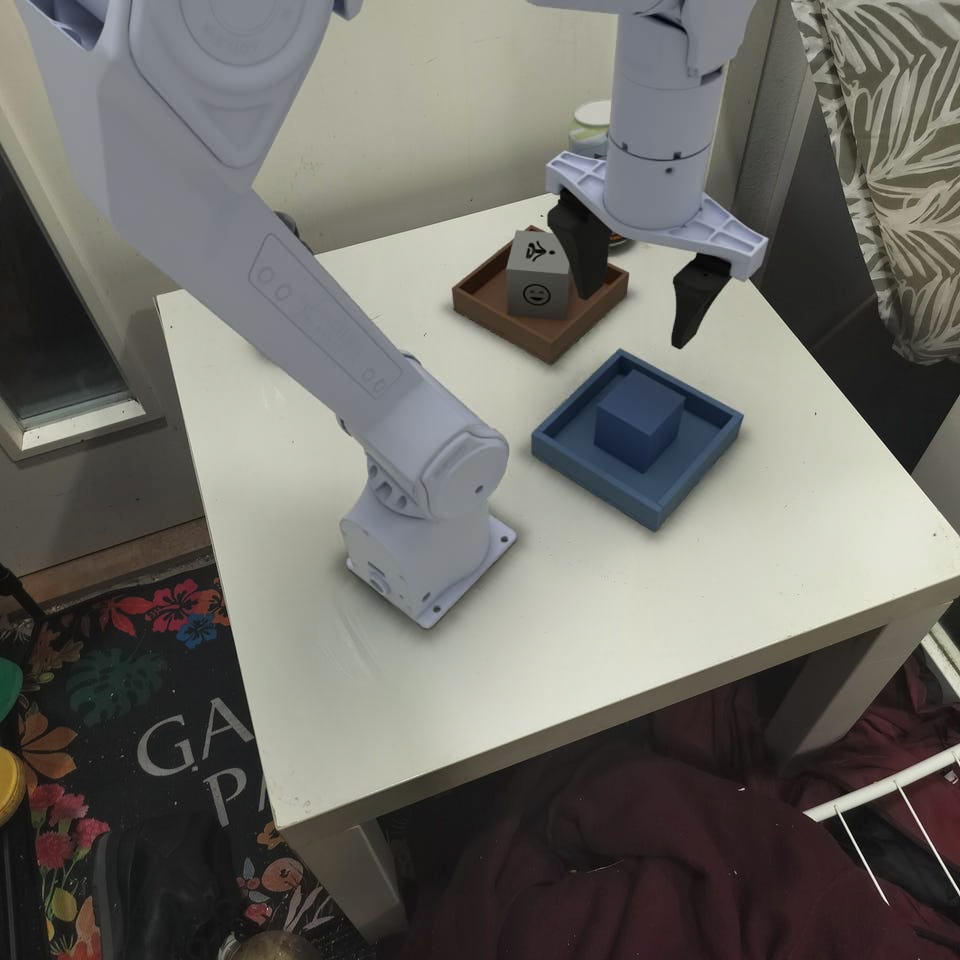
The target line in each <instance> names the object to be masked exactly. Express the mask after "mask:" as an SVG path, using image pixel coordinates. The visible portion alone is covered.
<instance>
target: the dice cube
mask: <svg viewBox="0 0 960 960" xmlns="http://www.w3.org/2000/svg"><path fill="white" fill-rule="evenodd" d="M513 239H514V241H513V244H512V248H511V252H510V256H509V260H508V264H507V268H506V278H507V309H508V315H514V316H525V317H536V318H546V319H557V320H566V315H567V310H568V305H569V299H570V294H571V289H572V283H573V273H572V270H571V267H570V264H569V261H568V259H567V256H566V254H565V252H564V250H563V248H562V246H561V244H560V242H559V241H558V239H557V237H556V236H555V234H554V233H553V232H547V231H545V232H534V231H524V230H520V229H519V230H518V229H516V230H515V233H514V237H513Z"/></svg>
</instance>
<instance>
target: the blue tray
mask: <svg viewBox="0 0 960 960" xmlns="http://www.w3.org/2000/svg"><path fill="white" fill-rule="evenodd" d="M633 369H634V370H636V371H638V372H640V373H641V374H643V375H645V376H647V377H649V378H651V379H652V380H654V381H656V382H658V383H660V384H662V385H663V386H665V387H667V388H669V389H671V390H673V391H675V392H676V393H678V394H680V395H682V396H684V397H685V398H686V399H685V403H684V408H683V412H682V417H681V421H680V426H679V430H678V435H677V438H676V439H675V440H674V441H673V442H672V443H671V444H670V445H669V446H668V447H667V449H666V450H665V451H664V452H663V453H662V454H661V455H660V456H659V457H658V458H657V459H656V461H655V462H654V463H653V464H652V465H651V466H650V467H649V468H648V469H647V470H646V472H645V473H644V474H642V473H640V472H639V471H637V470H635V469H634V468H632V467H630V466H629V465H627V464H626V463H624V462H622V461H621V460H619V459H617V458H616V457H614V456H612V455H611V454H609V453H607V452H606V451H604V450H602V449H601V448H599V447H597V446H596V445H594V436H595V425H596V415H597V405H598V404H599V403H600V402H601V401H602V400H603V399H604V398H605V397H606V396H607V395H608V394H609V393H610V392H611V391H612V390H613V389H614V388H615V387H616V386H617V385H618V384H619V383H620V382H621V381H622V380H623V379H624V378H625V377H626V376H627V375H628V374H629V373H630V372H631V371H632V370H633ZM744 417H745V414H744V413H742V412H741V411H738V410H736V409H735V408H732V406H731V407H730V406H729V405H727V404H724V403H723V402H721V401H719V400H718V399H715V398H714V397H713V396H710V395H708V394H706V393H704V392H703V391H701V390H699V389H698V388H696V387H694V386H691V385H689V384H688V383H686V382H684V381H682V380H680V379H678V378H677V377H674V376H673V375H671V374H670V373H668V372H666V371H663V370H661V368H659V367H656V366H654V365H653V364H650V363H649V362H647V361H645V360H643V359H641V358H639V357H637V356H635V355H634V354H632V353H630V352H628V351H626V349H625V350H624V349H623V348H621V347H619V348H618V349H617V350H616V351H615V352H614V353H613V354H611V356H610V357H609V358H608V359H606V360H605V361H604V363H602V364H601V366H599V367H598V368H597V369H596V370H595V371H594V372H593V373H591V375H590V376H589V377H588V378H587V379H586V380H585V381H584V382H583V383H582V384H580V385H579V386H578V388H576V389H575V391H573V392H572V393H571V395H569V396H568V397H567V398H566V399H565V400H564V401H563V402H562V403H561V404H560V405H559V406H558V407H557V408H556V409H554V410H553V412H552V413H551V414H549V415H548V416H547V417H546V418H545V420H543V421H542V422H541V423H540V424H539V425H538V426H537V427H536V428H535V429H534V430H533V431H532V432H531V434H530V451H531V452H530V454H531V455H532V456H534V457H535V458H537V459H538V460H540V461H541V462H543V463H544V464H546V465H548V466H550V467H551V468H552V469H554V470H555V471H558V472H559V473H561V474H562V475H563V476H565V477H567V478H569V479H570V480H571V481H573V482H575V483H576V484H578V485H579V486H581V487H582V488H584V489H586V490H587V491H589V492H591V493H593V494H594V495H595V496H597V497H598V498H600V499H602V500H603V501H605V502H606V503H608V504H609V505H611V506H613V507H614V508H616V509H617V510H619V511H620V512H622V513H623V514H625V515H626V516H629V517H630V518H632V519H633V520H635V521H636V522H638V523H639V524H641V525H643V526H644V527H646V528H647V529H649V530H650V531H652V532H654V533H655V532H656V531H657V530H658V529H659V528H660V527H661V526H662V525H663V523H664V522H665V521H666V520H667V519H668V518H669V517H670V515H671V514H672V513H673V512H674V511H675V510H676V508H677V507H678V506H679V505H680V504H681V503H682V502H683V500H684V499H685V498H686V497H687V496H688V494H689V493H690V492H691V491H692V490H693V489H694V487H695V486H696V485H697V484H698V483H699V482H700V481H701V480H702V478H703V477H704V476H705V475H706V474H707V473H708V471H709V470H710V469H711V468H712V467H713V466H714V464H715V463H716V462H717V461H718V460H719V458H721V456H722V455H723V454H724V453H725V452H726V450H728V448H729V447H730V446H731V445H732V443H733V442H734V441H735V440H736V439H737V438H738V437H739V433H740V430H741V427H742V425H743V421H744Z"/></svg>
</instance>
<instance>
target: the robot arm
mask: <svg viewBox="0 0 960 960" xmlns="http://www.w3.org/2000/svg"><path fill="white" fill-rule="evenodd" d="M12 2H13V3H14V5H15V8H16V9H17V11H18V14H19V15H20V18H21V20H22V22H23V25H24V27H25V29H26V32H27V36H28V38H29V42H30V45H31V48H32V51H33V55H34V58H35V61H36V64H37V67H38V71H39V74H40V76H41V80H42V83H43V86H44V90H45V92H46V93H45V94H46V97H47V99H48V103H49V105H50V109H51V112H52V115H53V118H54V121H55V124H56V127H57V131H58V134H59V137H60V140H61V143H62V148H63V150H64V154H65V157H66V160H67V163H68V166H69V169H70V172H71V175H72V177H73V180H74V183H75V185H76V187H77V188H78V190H79V191H80V192H81V193H82V195H83V196H84V197H85V198H86V200H87V201H88V202H89V203H90V205H91V206H92V207H93V208H94V209H95V210H96V211H97V212H98V213H99V214H100V216H101V217H102V218H103V219H104V220H105V221H106V222H107V223H108V224H109V225H110V226H111V227H112V229H113V230H114V231H115V232H116V233H117V234H118V235H119V236H120V237H121V239H123V240H124V242H126V243H127V244H129V246H131V247H132V248H133V249H134V250H136V251H137V252H138V254H140V255H142V256H143V257H144V258H146V259H147V260H148V261H149V262H150V263H151V264H153V265H154V266H155V267H156V268H158V269H159V270H160V271H161V272H163V273H164V274H165V275H166V276H167V277H169V278H170V279H171V280H172V281H173V282H175V283H176V284H177V285H178V286H180V287H181V288H182V289H183V290H184V291H186V293H188V294H189V295H190V296H192V298H194V299H195V300H197V301H198V303H200V304H201V305H203V306H204V307H205V308H206V309H208V310H209V311H210V312H211V313H212V314H214V315H215V316H216V317H217V318H218V319H219V320H221V321H222V322H223V323H224V324H226V325H227V326H228V327H229V328H231V329H232V330H233V331H234V332H235V333H237V334H238V335H239V336H240V337H242V339H244V340H245V341H246V342H247V343H249V345H251V346H252V347H254V348H255V349H256V350H257V351H259V352H260V353H261V354H262V355H263V356H264V357H266V358H267V359H268V360H269V361H271V362H272V363H273V364H274V365H276V366H277V367H278V368H279V369H280V370H282V372H283V373H285V374H286V375H288V376H289V377H290V379H292V380H294V381H295V382H296V383H297V384H299V385H300V386H301V387H302V388H303V389H305V390H306V391H307V392H308V393H310V394H311V395H312V396H313V397H314V398H316V399H317V400H318V401H319V402H321V404H323V405H324V406H325V407H326V408H328V409H329V410H330V411H331V412H333V413H334V415H335V420H336V422H337V425H338V426H339V427H340V429H341V430H342V431H343V432H345V433H346V435H348V436H349V437H352V438H353V439H354V440H355V441H356V443H358V444H359V445H360V446H361V447H362V448H363V452H364V455H365V456H366V469H367V476H368V477H367V480H366V483H365V486H364V488H363V489H362V492H361V493H360V495H359V497H358V499H357V500H356V501H355V503H354V505H352V507H351V508H349V510H348V511H347V512H346V513H345V514H344V515H343V516H342V518H341V519H340V521H339V530H340V533H341V536H342V539H343V542H344V545H345V547H346V550H347V553H348V556H349V557H348V558H347V559H346V566H347V568H348V569H349V570H350V571H351V572H352V573H354V574H355V575H356V576H358V577H359V578H360V579H361V580H362V581H364V583H366V584H368V585H369V586H370V587H371V588H372V589H374V590H375V591H377V592H378V593H379V594H380V595H381V596H382V597H384V598H385V599H387V600H388V602H390V603H391V604H393V606H395V607H396V608H398V609H399V610H400V611H401V612H403V613H404V615H406V616H408V617H409V618H410V619H411V620H413V622H415V623H416V624H418V625H419V626H420V627H421V628H423V629H426V630H427V629H431V628H432V627H433V626H435V624H436V623H437V622H438V621H439V620H440V619H441V618H443V616H444V615H445V614H446V613H447V612H448V611H449V610H450V609H451V608H452V607H453V606H454V605H455V604H456V603H457V602H458V601H459V600H460V598H462V596H463V595H464V594H466V592H467V591H468V590H470V588H471V587H472V586H473V585H474V584H475V583H476V582H477V581H478V580H479V579H480V578H481V577H482V576H483V575H484V574H485V572H487V571H488V570H489V568H491V566H492V565H493V564H494V563H495V562H496V561H498V559H499V558H500V557H501V556H502V555H503V554H504V553H505V552H506V551H507V550H508V549H509V548H510V547H511V546H512V544H513V543H515V542H516V540H517V533H516V531H515V530H514V529H512V528H511V527H510V526H508V525H506V524H505V523H504V522H502V521H501V520H499V519H498V518H496V517H495V516H493V515H492V514H491V513H489V505H488V499H489V498H490V497H491V496H492V495H493V493H494V492H495V491H496V490H497V488H498V486H499V485H500V484H501V482H502V480H503V479H504V476H505V474H506V471H507V468H508V462H509V458H510V444H509V441H508V439H507V437H506V436H505V435H504V434H503V433H501V431H499V430H498V429H496V428H493V427H492V428H491V427H490V426H489V425H488V423H486V422H485V421H484V420H482V418H481V417H479V416H478V415H477V414H476V413H474V411H472V409H470V408H469V407H468V406H467V405H466V404H465V403H464V402H462V401H461V400H460V399H459V397H457V396H456V395H455V394H454V393H452V392H451V391H450V390H449V389H448V388H447V387H446V386H445V385H443V384H442V383H441V382H440V381H439V379H437V378H436V377H435V376H434V375H432V374H431V373H430V372H429V371H428V370H427V369H425V368H424V366H423V365H422V362H421V361H420V360H419V359H418V358H416V356H415V355H414V354H413V353H412V352H410V351H408V350H405V349H401V348H397V346H396V345H395V344H394V343H393V342H392V341H391V340H390V339H389V337H387V336H386V334H385V333H384V332H383V331H382V330H381V329H380V327H379V326H378V325H377V324H376V323H375V322H374V321H373V320H372V319H371V318H370V316H369V315H368V314H367V313H366V312H365V311H364V310H363V309H362V308H361V307H360V306H359V305H358V303H357V302H356V301H355V300H354V299H353V298H352V297H351V296H350V294H349V293H348V292H346V290H345V289H344V288H343V287H342V286H341V285H340V283H339V282H338V281H337V280H336V279H335V278H334V277H333V275H332V274H330V273H329V271H328V270H327V269H326V268H325V266H323V265H322V264H321V263H320V261H319V260H318V259H317V258H316V257H315V255H314V256H313V255H312V254H311V253H310V252H309V250H308V249H307V248H306V247H305V246H304V245H303V244H302V243H301V242H300V241H299V239H300V238H299V239H298V238H297V237H296V236H295V235H294V234H293V233H292V232H291V231H290V229H289V228H288V227H287V226H286V225H285V224H284V223H283V222H282V221H281V220H280V218H279V217H278V216H277V215H276V214H275V213H274V212H273V211H274V210H273V209H271V207H270V206H269V205H268V204H267V203H266V201H265V200H263V199H262V197H261V196H260V195H259V194H258V193H257V191H255V189H254V188H253V187H252V186H253V184H254V183H255V180H256V178H257V176H258V174H259V172H260V170H261V168H262V166H263V164H264V162H265V160H266V158H267V156H268V155H269V152H270V150H271V148H272V146H273V144H274V142H275V140H276V138H277V136H278V134H279V132H280V130H281V128H282V126H283V124H284V122H285V120H286V118H287V116H288V113H289V111H290V110H291V108H292V106H293V104H294V102H295V100H296V98H297V96H298V94H299V92H300V90H301V88H302V86H303V83H304V81H305V79H306V78H307V75H308V74H309V71H310V70H311V67H312V65H313V63H314V62H315V59H316V58H317V56H318V53H319V50H320V48H321V46H322V43H323V41H324V38H325V36H326V33H327V30H328V27H329V25H330V21H331V17H332V15H333V14H335V15H336V16H338V17H340V18H342V19H343V20H345V21H346V22H350V21H351V20H353V19H354V18H356V17H357V16H358V15H359V13H361V10H362V7H363V5H364V4H363V3H364V0H12ZM525 2H527V3H528V4H530V5H533V6H535V7H541V8H549V9H558V10H559V9H561V10H570V11H579V12H588V13H589V12H591V13H597V14H598V13H600V14H608V15H617V25H616V38H615V50H614V51H615V52H614V61H613V75H612V85H611V86H612V88H611V89H612V90H611V97H610V99H611V111H610V123H609V134H608V147H607V159H606V161H604V160H598V159H592V158H588V157H583V156H579V155H576V154H573V153H571V152H569V150H563V151H562V152H561V153H559V154H558V155H557V156H555V157H554V158H552V159H551V160H550V161H549V162H547V163H546V164H545V191H546V192H547V193H550V194H552V195H554V196H559V199H557V204H556V205H554V206H553V207H552V208H551V209H550V210H549V211H548V212H547V217H546V224H547V227H548V228H549V229H550V231H551V233H554V234H555V236H556V237H557V239H558V241H559V242H560V244H561V246H562V248H563V250H564V252H565V254H566V256H567V259H568V261H569V264H570V267H571V270H572V273H573V277H574V280H575V284H576V288H577V292H578V295H579V298H581V299H583V300H585V301H587V300H588V299H589V298H590V297H591V296H592V295H593V294H594V293H596V292H597V291H598V290H599V289H600V288H601V287H602V286H603V284H604V280H605V276H606V271H607V262H609V261H608V260H609V251H610V246H609V242H610V237H611V232H612V231H614V232H615V233H617V234H619V235H621V236H623V237H626V238H629V239H628V240H632V241H636V242H641V243H647V244H650V245H651V244H652V245H656V246H662V247H667V248H673V249H678V250H683V251H687V252H693V253H695V257H694V258H693V259H691V260H690V261H689V262H688V263H686V264H685V265H684V267H682V268H681V269H680V270H679V271H678V272H677V273H676V274H675V275H674V276H673V278H672V285H673V289H674V295H675V296H674V297H675V316H674V321H673V325H672V331H671V336H670V344H671V347H673V348H675V349H677V350H683V348H685V346H686V345H688V343H689V342H690V341H691V340H692V339H693V338H695V336H696V335H697V333H698V331H699V328H700V326H701V325H702V323H703V320H704V318H705V317H706V314H707V312H708V311H709V309H710V308H711V306H712V304H714V301H715V300H716V299H717V297H718V296H719V295H720V293H721V292H722V291H723V289H724V288H725V287H726V286H727V285H728V283H729V282H730V281H731V280H732V279H735V280H738V281H740V282H741V283H745V282H747V281H748V279H750V278H752V276H753V275H754V274H755V273H756V272H757V271H758V269H759V268H761V267H762V265H763V263H764V262H763V261H764V258H765V255H766V251H767V247H768V243H769V240H770V239H769V238H768V237H766V236H764V235H762V234H760V233H758V232H756V231H755V230H754V229H751V228H749V227H748V226H746V225H745V224H744V223H743V222H741V221H740V220H739V219H738V218H736V216H734V215H733V214H732V213H730V212H729V211H728V210H727V209H725V208H724V206H722V205H720V203H718V202H717V201H715V200H714V199H713V198H712V197H711V196H709V195H708V194H707V193H706V192H705V191H704V188H705V183H706V182H705V181H706V177H707V172H708V166H709V163H710V162H709V161H710V155H711V151H712V145H713V139H714V136H715V130H716V125H717V119H718V114H719V111H720V110H719V109H720V104H721V100H722V99H721V98H722V93H723V89H724V88H723V87H724V84H725V83H724V82H725V78H726V72H727V68H728V67H727V66H728V62H730V61H732V60H733V59H735V57H736V56H737V54H738V52H739V48H740V46H742V45H743V43H744V37H745V33H746V28H747V26H748V25H747V24H748V21H749V18H750V16H751V13H752V11H753V9H754V7H755V5H756V3H757V2H758V0H525ZM332 13H333V14H332ZM503 540H506V542H504V541H503ZM436 609H439V611H437V612H436V611H435V610H436Z"/></svg>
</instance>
